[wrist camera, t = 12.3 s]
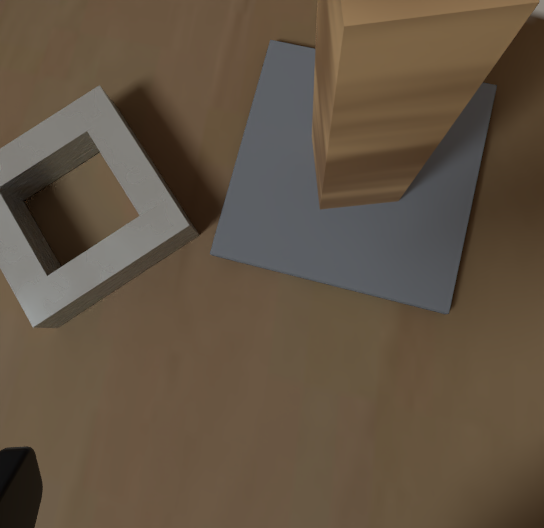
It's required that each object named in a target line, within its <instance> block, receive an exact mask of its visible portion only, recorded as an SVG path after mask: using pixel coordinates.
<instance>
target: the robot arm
mask: <svg viewBox="0 0 544 528" xmlns="http://www.w3.org/2000/svg"><path fill="white" fill-rule="evenodd" d="M42 490H43V486H42V479H41V475H40V471H39V467H38V463H37V459H36V455H35V452H34V450H33V449H32V448H31V447H10V448H5V449H3V450H1V451H0V528H34V527H35V523H36V519H37V515H38V511H39V506H40V502H41V498H42Z"/></svg>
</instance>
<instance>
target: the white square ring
mask: <svg viewBox="0 0 544 528" xmlns="http://www.w3.org/2000/svg"><path fill="white" fill-rule="evenodd" d="M99 152H100V153H101V154H102V156H103V157H104V159H105V161H106V162H107V164H108V165H109V167H110V169H111V170H112V172H113V173H114V175H115V177H116V178H117V180H118V181H119V183H120V185H121V186H122V188H123V189H124V191H125V193H126V194H127V196H128V197H129V199H130V201H131V202H132V204H133V205H134V207H135V209H136V210H137V212H138V213H139V215H140V216H139V217H137V218H136V219H134V220H133V221H131V222H130V223H128V224H126V225H125V226H123V227H122V228H120V229H119V230H117V231H116V232H114V233H113V234H111V235H110V236H108V237H106V238H105V239H103V240H102V241H100V242H99V243H97V244H96V245H94V246H93V247H91V248H90V249H88V250H86V251H85V252H83V253H82V254H80V255H79V256H77V257H76V258H74V259H73V260H71V261H70V262H68V263H66V264H65V265H63V266H62V267H61V265H60V264H59V262H58V260H57V259H56V257H55V255H54V253H53V252H52V250H51V248H50V246H49V245H48V243H47V241H46V240H45V238H44V236H43V234H42V233H41V231H40V229H39V227H38V226H37V224H36V222H35V220H34V219H33V217H32V215H31V214H30V212H29V210H28V208H27V207H26V205H25V203H24V200H26V199H27V198H29V197H30V196H32V195H33V194H35V193H36V192H38V191H40V190H41V189H43V188H44V187H46V186H47V185H49V184H50V183H52V182H54V181H55V180H57V179H58V178H60V177H61V176H63V175H64V174H66V173H68V172H69V171H71V170H72V169H74V168H75V167H77V166H78V165H80V164H82V163H83V162H85V161H86V160H88V159H89V158H91V157H92V156H94V155H96V154H97V153H99ZM197 236H199V233H198V232H197V230H196V229H195V227H194V226H193V224H192V223H191V221H190V219H189V218H188V216H187V215H186V213H185V212H184V210H183V209H182V207H181V206H180V204H179V202H178V201H177V199H176V198H175V196H174V195H173V193H172V192H171V190H170V188H169V187H168V185H167V184H166V182H165V181H164V179H163V178H162V176H161V174H160V173H159V171H158V170H157V168H156V167H155V165H154V164H153V162H152V160H151V159H150V157H149V156H148V154H147V153H146V151H145V150H144V148H143V147H142V145H141V143H140V142H139V140H138V139H137V137H136V136H135V134H134V133H133V131H132V129H131V128H130V126H129V125H128V123H127V122H126V120H125V119H124V117H123V115H122V114H121V112H120V111H119V109H118V108H117V106H116V105H115V104H114V102H113V101H112V100H111V99H110V98H109V96H108V95H107V94H106V93H105V91H104V90H103V89H102V88H101V86H100V85H99V86H98V87H96V88H95V89H93V90H91V91H90V92H88V93H87V94H85V95H84V96H82V97H80V98H79V99H77V100H76V101H74V102H73V103H71V104H69V105H68V106H66V107H65V108H63V109H62V110H60V111H59V112H57V113H55V114H54V115H52V116H51V117H49V118H48V119H46V120H44V121H43V122H41V123H40V124H38V125H37V126H35V127H33V128H32V129H30V130H29V131H27V132H26V133H24V134H23V135H21V136H19V137H18V138H16V139H15V140H13V141H12V142H10V143H8V144H7V145H5V146H4V147H2V148H1V149H0V268H1V270H2V272H3V274H4V276H5V277H6V279H7V281H8V283H9V285H10V286H11V288H12V290H13V292H14V294H15V296H16V297H17V299H18V301H19V303H20V305H21V306H22V308H23V310H24V312H25V314H26V315H27V317H28V319H29V321H30V323H31V325H32V326H33V327H38V328H58V327H60V326H61V325H63V324H64V323H66V322H67V321H69V320H70V319H72V318H73V317H75V316H76V315H78V314H79V313H81V312H83V311H84V310H86V309H87V308H89V307H90V306H92V305H93V304H95V303H96V302H98V301H99V300H101V299H102V298H104V297H105V296H107V295H108V294H110V293H112V292H113V291H115V290H116V289H118V288H119V287H121V286H122V285H124V284H125V283H127V282H128V281H130V280H131V279H133V278H134V277H136V276H138V275H139V274H141V273H142V272H144V271H145V270H147V269H148V268H150V267H151V266H153V265H154V264H156V263H157V262H159V261H160V260H162V259H164V258H165V257H167V256H168V255H170V254H171V253H173V252H174V251H176V250H177V249H179V248H180V247H182V246H183V245H185V244H186V243H188V242H190V241H191V240H193V239H194V238H196V237H197Z"/></svg>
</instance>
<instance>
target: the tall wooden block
mask: <svg viewBox="0 0 544 528" xmlns="http://www.w3.org/2000/svg"><path fill="white" fill-rule="evenodd" d="M538 4H539V0H318V2H317V25H316V48H315V71H314V94H313V117H312V143H313V152H314V162H315V171H316V180H317V189H318V198H319V207H320V209H329V208H339V207H348V206H358V205H367V204H377V203H386V202H396V201H399V200H400V198H401V197H402V195H403V194H404V193H405V191H406V190H407V188H408V187H409V186H410V184H411V183H412V181H413V180H414V179H415V177H416V176H417V174H418V173H419V171H420V170H421V169H422V167H423V166H424V164H425V163H426V162H427V160H428V159H429V157H430V156H431V155H432V153H433V152H434V150H435V149H436V147H437V146H438V145H439V143H440V142H441V140H442V139H443V138H444V136H445V135H446V133H447V132H448V131H449V129H450V128H451V126H452V125H453V124H454V122H455V121H456V119H457V118H458V116H459V115H460V114H461V112H462V111H463V109H464V108H465V107H466V105H467V104H468V102H469V101H470V100H471V98H472V97H473V95H474V94H475V92H476V91H477V90H478V88H479V87H480V85H481V84H482V83H483V81H484V80H485V78H486V77H487V76H488V74H489V73H490V71H491V70H492V68H493V67H494V66H495V64H496V63H497V61H498V60H499V59H500V57H501V56H502V54H503V53H504V52H505V50H506V49H507V47H508V46H509V44H510V43H511V42H512V40H513V39H514V37H515V36H516V35H517V33H518V32H519V30H520V29H521V28H522V26H523V25H524V23H525V22H526V20H527V19H528V18H529V16H530V15H531V13H532V12H533V11H534V9H535V8H536V6H537V5H538Z"/></svg>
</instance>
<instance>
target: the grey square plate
mask: <svg viewBox="0 0 544 528" xmlns="http://www.w3.org/2000/svg"><path fill="white" fill-rule="evenodd" d="M314 71H315V49H314V48H309V47H304V46H299V45H294V44H289V43H284V42H279V41H274V40H270V43H269V47H268V50H267V54H266V57H265V61H264V64H263V68H262V71H261V75H260V78H259V82H258V86H257V89H256V93H255V96H254V100H253V103H252V107H251V110H250V114H249V117H248V121H247V124H246V128H245V131H244V135H243V138H242V142H241V145H240V149H239V153H238V156H237V160H236V163H235V167H234V170H233V174H232V177H231V181H230V184H229V188H228V191H227V195H226V198H225V202H224V205H223V209H222V213H221V216H220V220H219V223H218V227H217V230H216V234H215V237H214V241H213V244H212V248H211V251H210V254H211V255H213V256H217V257H221V258H225V259H229V260H233V261H237V262H241V263H245V264H249V265H253V266H257V267H261V268H265V269H269V270H272V271H276V272H280V273H284V274H288V275H292V276H296V277H300V278H304V279H308V280H312V281H316V282H320V283H324V284H328V285H332V286H336V287H340V288H344V289H348V290H352V291H356V292H360V293H364V294H368V295H372V296H376V297H380V298H384V299H388V300H392V301H396V302H399V303H403V304H407V305H411V306H415V307H419V308H423V309H427V310H431V311H435V312H439V313H443V314H449V310H450V306H451V301H452V296H453V291H454V287H455V282H456V277H457V272H458V268H459V263H460V258H461V253H462V249H463V244H464V239H465V234H466V230H467V225H468V220H469V216H470V211H471V206H472V201H473V197H474V192H475V187H476V182H477V178H478V173H479V168H480V163H481V159H482V154H483V149H484V144H485V140H486V135H487V130H488V125H489V121H490V116H491V111H492V106H493V102H494V97H495V92H496V87H497V85H493V84H488V83H482V84H481V85H480V87H479V88H478V90H477V91H476V92H475V94H474V95H473V97H472V98H471V100H470V101H469V102H468V104H467V105H466V107H465V108H464V109H463V111H462V112H461V114H460V115H459V116H458V118H457V119H456V121H455V122H454V124H453V125H452V126H451V128H450V129H449V131H448V132H447V133H446V135H445V136H444V138H443V139H442V140H441V142H440V143H439V145H438V146H437V147H436V149H435V150H434V152H433V153H432V155H431V156H430V157H429V159H428V160H427V162H426V163H425V164H424V166H423V167H422V169H421V170H420V171H419V173H418V174H417V176H416V177H415V179H414V180H413V181H412V183H411V184H410V186H409V187H408V188H407V190H406V191H405V193H404V194H403V195H402V197H401V198H400V200H399V201H396V202H386V203H377V204H367V205H358V206H348V207H339V208H329V209H320V207H319V198H318V189H317V180H316V171H315V162H314V152H313V143H312V117H313V94H314Z"/></svg>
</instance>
